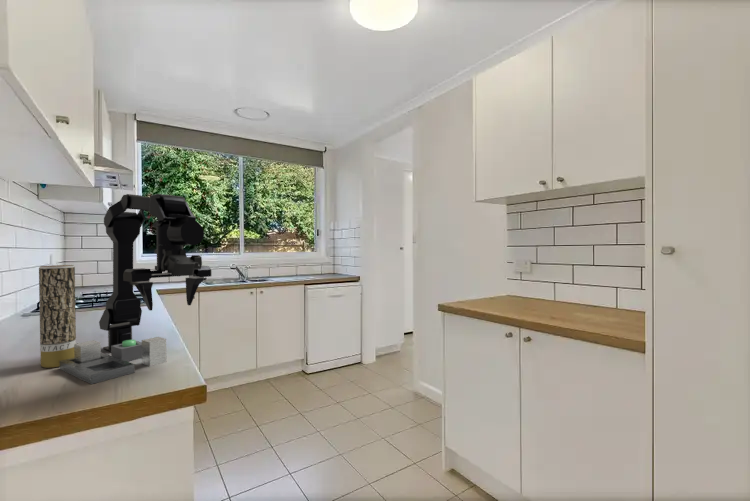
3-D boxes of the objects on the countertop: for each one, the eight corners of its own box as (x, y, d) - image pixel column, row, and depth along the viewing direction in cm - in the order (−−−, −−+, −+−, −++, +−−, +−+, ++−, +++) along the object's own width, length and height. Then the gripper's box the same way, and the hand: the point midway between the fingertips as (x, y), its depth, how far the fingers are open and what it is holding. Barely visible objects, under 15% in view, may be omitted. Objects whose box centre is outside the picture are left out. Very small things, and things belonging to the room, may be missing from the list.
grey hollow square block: (111, 359, 96) (111, 345, 96) (136, 353, 101) (136, 340, 101) (121, 362, 92) (121, 349, 92) (146, 356, 97) (146, 343, 97)
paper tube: (47, 362, 93) (45, 265, 93) (80, 358, 96) (78, 264, 96) (35, 370, 87) (33, 266, 87) (71, 366, 90) (69, 266, 90)
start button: (120, 350, 96) (120, 341, 96) (132, 348, 99) (132, 339, 99) (125, 352, 94) (125, 343, 94) (138, 349, 97) (137, 340, 97)
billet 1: (74, 368, 89) (74, 343, 89) (94, 363, 92) (93, 340, 92) (81, 371, 86) (80, 346, 86) (100, 366, 90) (100, 342, 90)
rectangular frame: (59, 369, 88) (59, 360, 88) (100, 359, 95) (100, 352, 95) (91, 384, 78) (91, 375, 78) (134, 372, 85) (134, 364, 85)
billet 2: (142, 363, 92) (141, 340, 92) (158, 359, 95) (158, 336, 95) (149, 366, 90) (149, 342, 90) (166, 362, 93) (166, 338, 93)
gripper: (141, 245, 78) (142, 317, 78) (222, 245, 93) (223, 305, 93) (121, 245, 85) (122, 311, 85) (200, 245, 100) (201, 301, 100)
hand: (170, 307), depth 90 cm, fingers open, 9 cm apart
